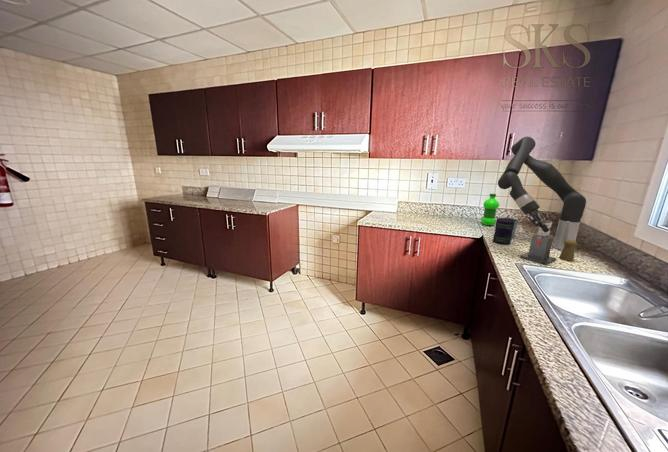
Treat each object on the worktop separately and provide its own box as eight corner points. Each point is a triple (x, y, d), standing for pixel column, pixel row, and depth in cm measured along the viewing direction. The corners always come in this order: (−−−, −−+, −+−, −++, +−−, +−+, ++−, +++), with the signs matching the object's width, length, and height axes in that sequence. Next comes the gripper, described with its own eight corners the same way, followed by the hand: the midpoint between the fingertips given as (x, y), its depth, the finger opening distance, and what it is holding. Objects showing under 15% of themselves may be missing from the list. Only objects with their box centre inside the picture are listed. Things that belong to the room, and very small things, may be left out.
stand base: (529, 253, 148) (534, 231, 145) (555, 260, 139) (561, 236, 135) (520, 258, 142) (524, 234, 138) (546, 265, 132) (552, 240, 129)
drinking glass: (497, 233, 187) (500, 216, 184) (514, 235, 183) (517, 218, 180) (498, 236, 179) (502, 220, 175) (516, 239, 174) (520, 221, 171)
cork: (558, 256, 145) (563, 237, 142) (573, 259, 141) (578, 239, 138) (559, 259, 140) (563, 240, 137) (573, 262, 137) (579, 242, 134)
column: (535, 254, 142) (543, 219, 137) (544, 256, 139) (552, 221, 134) (532, 255, 140) (540, 220, 135) (541, 257, 137) (549, 222, 132)
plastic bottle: (495, 227, 202) (501, 195, 195) (480, 225, 207) (485, 194, 200) (495, 224, 210) (500, 193, 204) (480, 222, 215) (485, 192, 209)
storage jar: (489, 241, 170) (492, 218, 166) (499, 239, 173) (503, 217, 169) (503, 246, 161) (508, 222, 157) (514, 244, 165) (518, 221, 161)
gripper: (526, 206, 147) (547, 232, 141) (514, 209, 140) (536, 236, 133) (539, 198, 142) (561, 225, 135) (527, 201, 134) (551, 229, 128)
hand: (548, 230), depth 134 cm, fingers closed on column, 4 cm apart
